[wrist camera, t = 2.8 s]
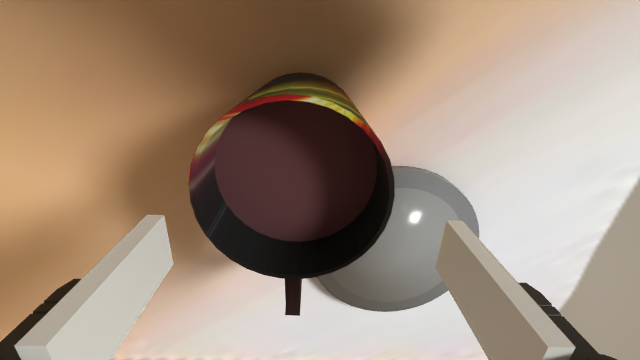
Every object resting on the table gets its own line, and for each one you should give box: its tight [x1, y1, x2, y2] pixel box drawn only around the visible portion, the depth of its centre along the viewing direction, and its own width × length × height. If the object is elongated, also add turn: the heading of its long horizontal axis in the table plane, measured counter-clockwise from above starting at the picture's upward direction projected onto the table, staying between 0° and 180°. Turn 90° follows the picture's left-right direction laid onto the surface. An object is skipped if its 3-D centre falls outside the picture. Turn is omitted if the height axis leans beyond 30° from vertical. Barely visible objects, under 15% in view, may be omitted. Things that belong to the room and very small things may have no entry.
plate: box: [318, 166, 479, 312], centre depth 29 cm, size 16×16×1 cm
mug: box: [189, 73, 395, 316], centre depth 20 cm, size 10×14×12 cm
